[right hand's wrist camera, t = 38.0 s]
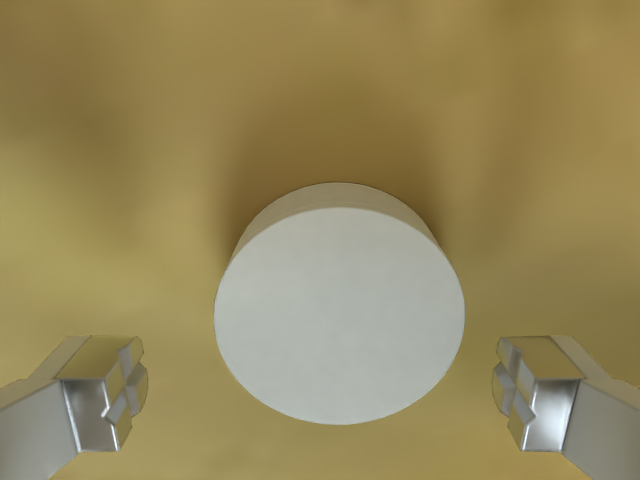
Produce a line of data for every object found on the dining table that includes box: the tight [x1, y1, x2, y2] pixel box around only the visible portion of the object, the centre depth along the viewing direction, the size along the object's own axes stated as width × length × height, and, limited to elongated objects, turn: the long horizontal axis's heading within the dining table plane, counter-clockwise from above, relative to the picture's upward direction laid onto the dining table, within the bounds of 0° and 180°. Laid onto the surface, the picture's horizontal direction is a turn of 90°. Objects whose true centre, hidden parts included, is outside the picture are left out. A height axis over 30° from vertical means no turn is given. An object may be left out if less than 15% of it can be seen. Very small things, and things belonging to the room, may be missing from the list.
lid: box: [213, 182, 465, 425], centre depth 12 cm, size 6×6×2 cm
